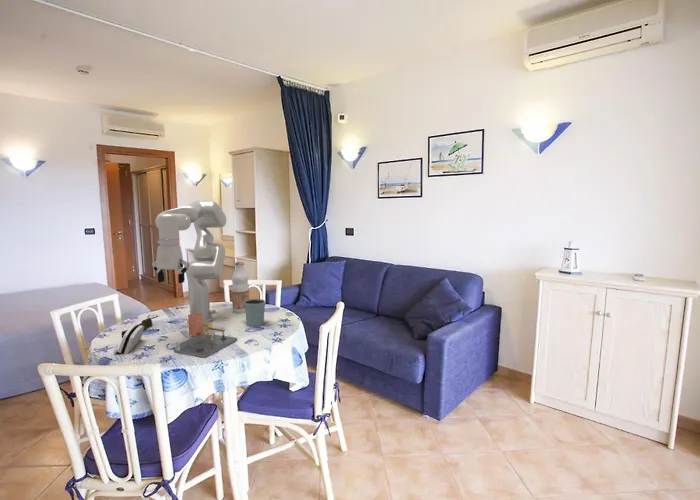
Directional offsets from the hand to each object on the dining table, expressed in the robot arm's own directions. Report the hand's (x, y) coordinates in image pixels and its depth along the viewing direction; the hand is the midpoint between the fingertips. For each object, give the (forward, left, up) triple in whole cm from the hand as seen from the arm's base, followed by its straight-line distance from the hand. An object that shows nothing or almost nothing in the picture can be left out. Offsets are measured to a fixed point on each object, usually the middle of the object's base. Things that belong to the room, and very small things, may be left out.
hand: (171, 282), depth 160 cm
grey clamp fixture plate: (-1, +17, -27) cm, 32 cm away
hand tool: (-4, -27, -27) cm, 39 cm away
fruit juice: (-50, -3, -27) cm, 57 cm away
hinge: (+11, -13, -27) cm, 32 cm away
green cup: (-33, +19, -27) cm, 47 cm away
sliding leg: (-1, +15, -25) cm, 29 cm away
